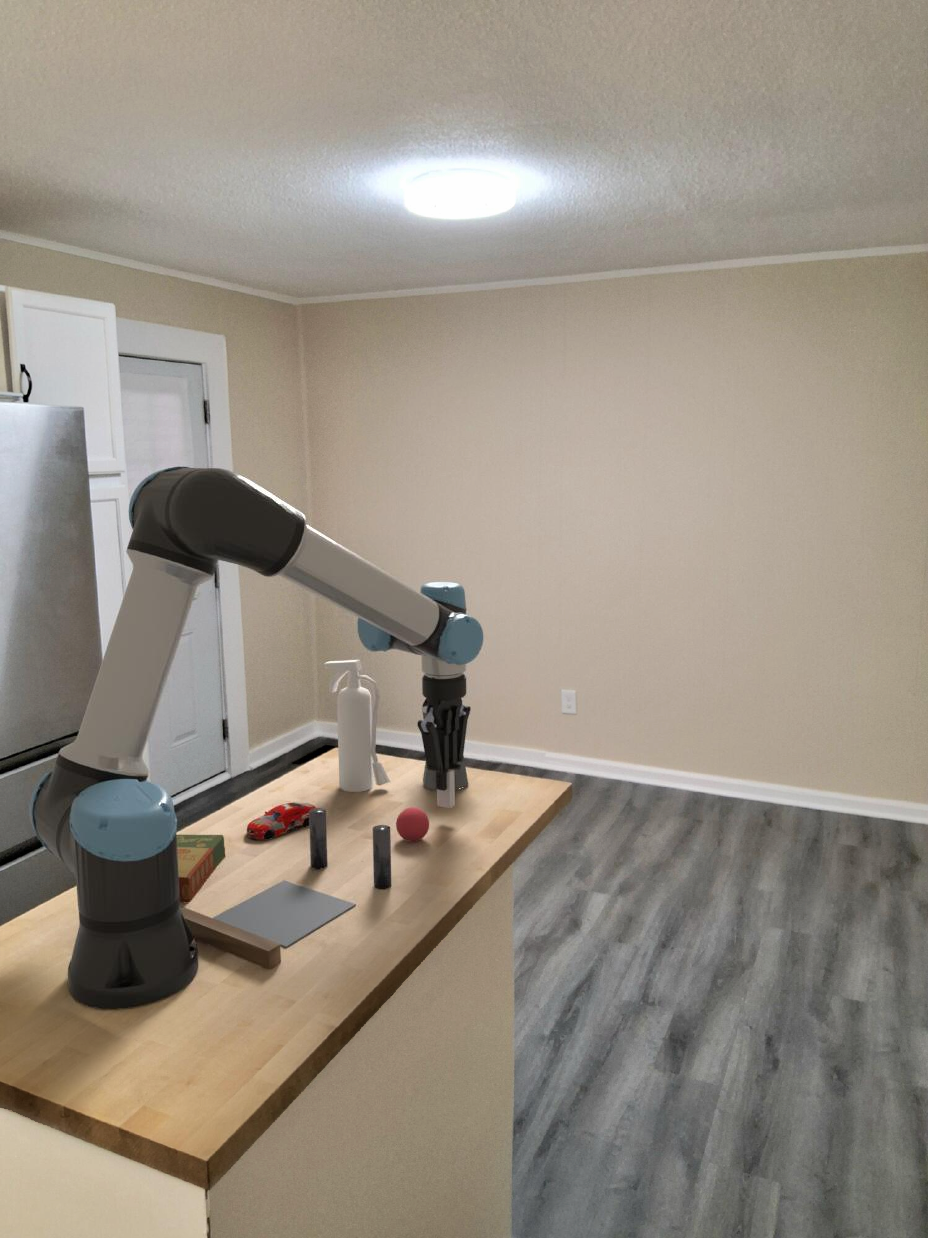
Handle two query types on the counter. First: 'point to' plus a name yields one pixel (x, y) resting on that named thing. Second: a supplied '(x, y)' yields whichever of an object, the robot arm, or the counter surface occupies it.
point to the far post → (318, 838)
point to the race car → (280, 820)
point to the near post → (382, 857)
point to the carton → (197, 861)
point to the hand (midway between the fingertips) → (446, 805)
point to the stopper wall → (233, 940)
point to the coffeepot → (430, 775)
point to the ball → (412, 824)
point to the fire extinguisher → (356, 729)
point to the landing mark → (285, 912)
